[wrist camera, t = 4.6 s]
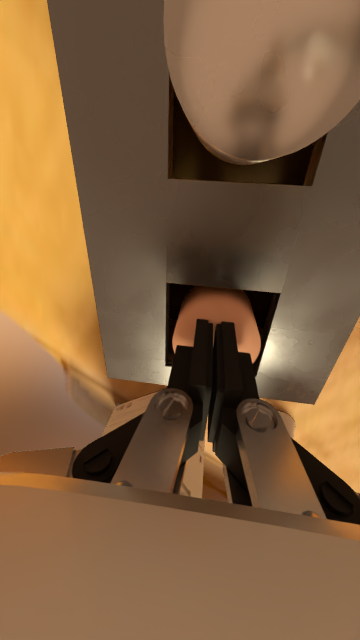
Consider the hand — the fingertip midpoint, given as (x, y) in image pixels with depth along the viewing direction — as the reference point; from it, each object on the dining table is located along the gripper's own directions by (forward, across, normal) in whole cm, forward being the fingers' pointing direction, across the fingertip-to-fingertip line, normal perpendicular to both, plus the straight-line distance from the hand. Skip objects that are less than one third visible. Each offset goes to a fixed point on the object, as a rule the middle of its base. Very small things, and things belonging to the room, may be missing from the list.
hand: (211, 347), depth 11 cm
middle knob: (0, 0, -9) cm, 9 cm away
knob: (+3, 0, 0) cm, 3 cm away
